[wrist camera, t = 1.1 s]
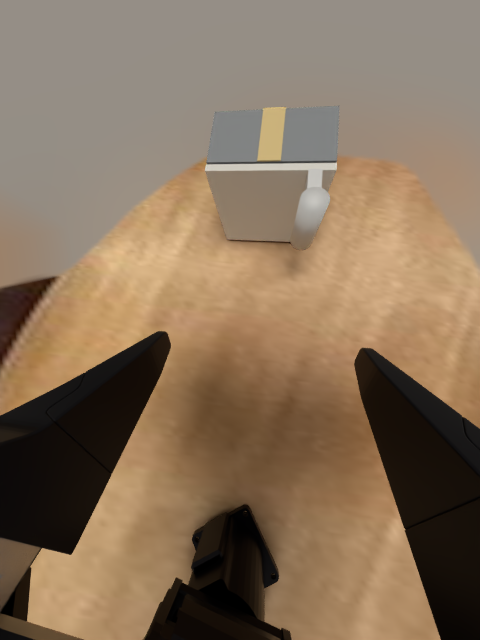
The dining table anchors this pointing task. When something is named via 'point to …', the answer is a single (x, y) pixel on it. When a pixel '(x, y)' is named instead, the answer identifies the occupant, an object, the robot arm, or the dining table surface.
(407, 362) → the dining table surface
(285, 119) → the carton
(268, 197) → the white square panel
